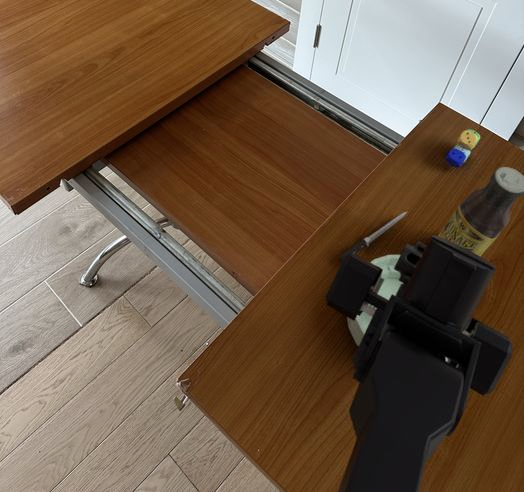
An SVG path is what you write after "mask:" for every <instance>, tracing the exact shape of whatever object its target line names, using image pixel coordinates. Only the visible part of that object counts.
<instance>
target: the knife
mask: <svg viewBox="0 0 524 492" xmlns="http://www.w3.org/2000/svg"><path fill="white" fill-rule="evenodd" d="M408 212H409V210H408V211H405V212H402V213H401V214H399V215H398V216H396V217H394V218H393V219H392V220H390V221H389V222H387V223H386V224H385V225H383V226H382V227H381V228H379V229H378V230H377V231H375V232H373V233H372V234H371V235H369V236H367V237H365V238H363V239H362V240H361V241H359V242H358V243H356V244H354V245H353V246H352V247H351V248H349V249H347V250H346V251H345V252H343V253H342V254H341V255H340V256H339V257H338V261H339V262H341V263H342V262H343V260H344V258H345V257H346V256H347V255H350V254H353V253H354V254H355V255H356V253H358V252H359V251H360V250H362V249H363V248H364V247H365V246H367V247H369V246H370V245H369V244H370V243H372V242H374V241H375V240H376V239H377V238H378V237H379V236H381V235H382V234H384V233H385V232H387V230H389V229H390V228H392V227H393V226H394V225H396V223H398V222H399V221H400V220H402V219H403V218H404V217H405V216H406V214H408Z"/></svg>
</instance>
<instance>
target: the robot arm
mask: <svg viewBox="0 0 524 492" xmlns="http://www.w3.org/2000/svg"><path fill="white" fill-rule="evenodd" d="M399 255H400V257H399V259H398V261H397V263H396V265H395V267H394V270H396V271H397V272H399V273H400V274H401V276H400V278H399V281H400V282H402V283H403V284H402V283H401V285H400V287H399V289H398V291H397V293H396V296H395V295H393V294H392V295H391V297H390V299H389V300H387V299H386V298H384V297H382V296H380V295H378V292H379V290H380V288H381V286H382V284H383V282H384V279H383V278H381V275H382V271H383V269H381V268H380V267H378V266H376V265H374V264H372V263H370V262H371V261H368V260H367V259H365V258H363V257H361V256H359V255H357V254H356V253H355V254H354V253H353V254H350V255H347V256H346V257H345V258H344V260H343V262H341V264H340V266H339V267H338V270H337V272H336V274H335V276H334V278H333V280H332V282H331V284H330V286H329V288H328V290H327V292H326V294H325V297H324V299H325V303H326V306H328V307H330V308H331V309H333V310H335V311H336V312H338V313H340V314H341V315H343V316H344V317H346V318H347V317H348V318H350V319H352V320H353V321H355V319H356V317H357V315H359V316H360V315H361V314H362V313H363V311H364V312H365V313H367V314H369V315H371V316H372V319H371V321H370V323H369V325H368V327H367V329H366V331H365V334H364V336H363V338H362V340H361V342H360V344H359V346H357V348H356V350H355V352H354V355H353V357H352V359H351V360H352V364H353V369H354V373H353V375H352V379H354V380H355V381H357V382H358V386H357V388H356V391H355V393H354V396H353V399H352V401H351V404H350V406H349V409H348V412H349V418H350V420H351V423H352V427H353V431H354V434H355V437H356V439H355V442H354V445H353V448H352V451H351V454H350V456H349V460H348V462H347V465H346V467H345V470H344V473H343V476H342V479H341V481H340V484H339V487H338V490H337V492H420V489H421V484H422V481H423V480H422V479H423V475H424V470H425V466H426V464H427V462H428V461H429V460H430V458H431V457H432V456H433V454H434V453H435V451H436V450H437V449H438V447H439V446H440V445H441V443H442V442H443V440H444V439H445V437H450V436H451V435H452V434H454V432H455V430H456V429H457V427H458V425H459V423H460V421H461V419H462V417H463V414H464V411H465V409H466V406H467V402H468V399H469V395H470V390H472V391H474V392H475V393H477V394H479V395H481V396H485V395H488V394H491V393H492V392H494V390H495V389H496V387H497V385H498V383H499V382H500V380H501V378H502V376H503V373H504V372H505V370H506V369H507V366H508V364H509V362H510V361H511V359H512V356H513V352H514V347H513V344H512V342H511V340H510V338H509V336H508V335H506V334H504V333H502V332H500V331H498V330H496V329H495V328H493V327H491V326H489V325H488V324H485V323H484V322H482V321H480V320H478V319H477V318H475V317H473V314H474V312H475V310H476V309H477V306H478V304H479V303H480V301H481V299H482V298H483V295H484V293H485V291H486V289H487V287H488V286H489V284H490V282H491V280H492V278H493V276H494V274H495V272H496V270H497V267H496V266H495V265H494V264H493V263H491V262H490V261H488V260H487V259H485V258H484V257H482V256H478V255H477V254H475V253H473V252H471V251H469V250H467V249H465V248H463V247H461V246H459V245H457V244H455V243H453V242H451V241H449V240H446V239H444V238H442V237H439V236H438V235H435V234H432V235H430V238H429V240H428V242H427V244H425V243H422V242H421V241H416V243H415V245H412V244H409V243H405V245H404V247H403V248H402V251H401V253H400V254H399ZM369 304H370V306H368V305H369ZM372 306H374V307H373V308H371V307H372ZM375 307H376V308H377V309H376V310H375ZM379 339H380V340H379ZM446 358H448V362H446Z"/></svg>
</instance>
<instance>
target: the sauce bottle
mask: <svg viewBox="0 0 524 492" xmlns="http://www.w3.org/2000/svg"><path fill="white" fill-rule="evenodd" d="M523 194H524V175H523V173H521V172H520V171H518V170H517V169H515V168H512V167H508V166H501V167H498V168H497V169H496V170H495V171H494V172H493V173H492V175H491V176H490V179H489V182H488V183H487V184H486V185H485V186H484V187H483V188H479V189H475V190H473V191H471V193H470V194H469V195H468V196H466V198H465V199H464V200H463V201H462V202H461V203H460V205H458V206H457V208H456V209H455V211H454V212H453V213H452V215H451V217H450V218H449V219H448V221H447V222H446V224H445V225H444V226H443V228H442V229H441V231H440V232H439V233H438V235H437V236H439V237H442V238H444V239H446V240H449V241H451V242H453V243H455V244H457V245H459V246H461V247H463V248H465V249H467V250H469V251H471V252H473V253H475V254H477V255H478V256H480V257H482V255H483V254H484V252H486V250H487V249H489V247H490V246H491V245H492V244H493V243H494V241H495V240H497V238H498V237H499V235H501V233H502V231H503V230H504V229H505V228H507V225H508V224H509V223H510V219H511V207H512V205H513V203H514V202H515V201H516V199H518V198H520V197H521V196H522V195H523Z"/></svg>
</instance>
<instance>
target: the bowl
mask: <svg viewBox="0 0 524 492" xmlns="http://www.w3.org/2000/svg"><path fill="white" fill-rule="evenodd" d="M400 255H401V254H387V255H384V256H379V257H378V258H374V259H373V260H372V261H369V262H370V263H372V264H374V265H376V266H378V267H380V268H381V269H383V271H382V275H381V278H383V279H384V282H383V284H382V286H381V288H380V290H379V292H378V295H380V296H382V297H384V298H386V299H387V300H389V299H390V297H391V295H392V294H393V295H395V296H396V293H397V291H398V289H399V287H400V285H401V283H402V282H400V281H399V278H400V276H401V274H400V273H399V272H397V271H396V270H394V267H395V265H396V263H397V261H398V259H399V257H400ZM402 284H403V283H402ZM368 306H370V304H369V305H368ZM373 307H374V306H372V307H371V308H373ZM376 309H377V308H376V307H375V310H376ZM371 319H372V316H371V315H369V314H367V313H365V312H364V311H363V313H362V314H361V315H360V316H359V315H357V317H356V319H355V321H353V320H352V319H350V318H348V317H346V321H347V326H348V327H347V328H348V330H349V332H350V334H351V336H352V338H353V340H354V342H355V344H356V346H357V347H358V346H359V344H360V342H361V340H362V338H363V336H364V334H365V331H366V329H367V327H368V325H369V323H370V321H371ZM379 340H380V339H379ZM446 362H448V358H446Z"/></svg>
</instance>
